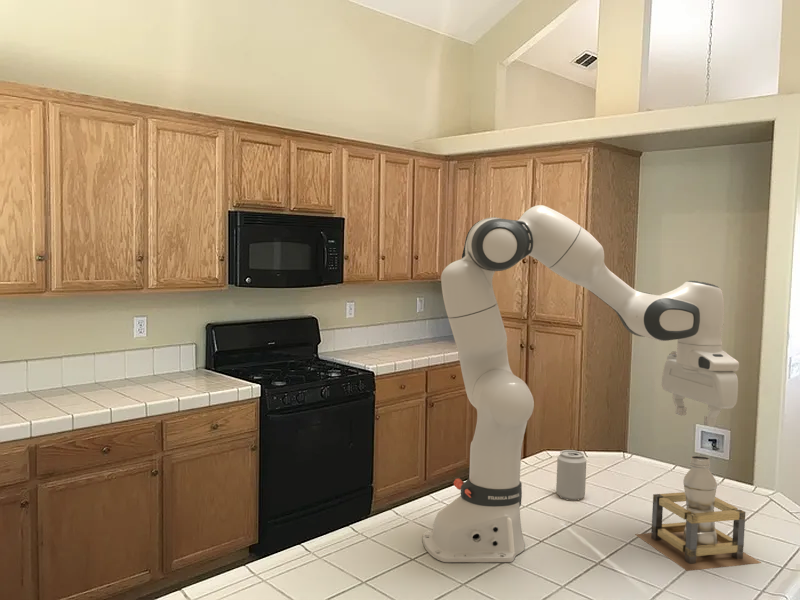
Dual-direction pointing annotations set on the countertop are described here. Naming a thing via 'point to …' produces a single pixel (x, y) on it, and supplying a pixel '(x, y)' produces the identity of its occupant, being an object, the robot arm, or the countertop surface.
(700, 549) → the frame
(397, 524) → the countertop surface
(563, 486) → the can
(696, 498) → the plastic bottle
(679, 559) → the walnut board
